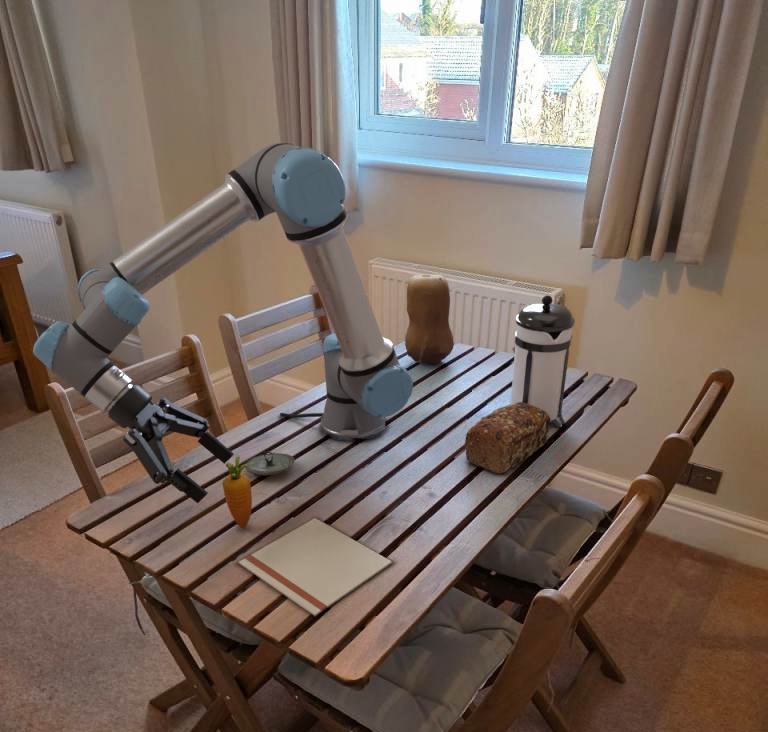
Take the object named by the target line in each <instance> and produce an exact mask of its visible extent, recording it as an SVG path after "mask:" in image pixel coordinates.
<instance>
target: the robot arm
mask: <svg viewBox="0 0 768 732" xmlns="http://www.w3.org/2000/svg"><path fill="white" fill-rule="evenodd" d="M345 200H346V183H345V179H344V176H343V174H342V172H341V170H340V168H339V167H338V165H337V164H336V163H335V161H333V160H332V159H331V158H330V157H329V156H327V155H326V154H324V153H323V152H321V151H319V150H317V149H315V148H312V147H306V146H298V145H295V144H293V143H289V142H276V143H273V144H269V145H267V146H265V147H263V148H261V149H260V150H259V151H257V152H256V153H254V154H253V155H251V156H250V157H249V158H247V159H246V160H244V161H243V162H242V163H241V164H239V165H238V166H237V167H235V168H234V169H232V170H231V171H229V172H228V173H226V174H225V176H224V183H223V184H221V185H219V186H218V187H217V188H216V189H214V190H213V191H211V192H210V193H208V194H207V195H205V196H204V197H203V198H201V199H200V200H198V201H197V202H196V203H194V204H193V205H191V206H190V207H189V208H187V209H186V210H184V211H183V212H181V213H180V214H179V215H177V216H175V217H174V218H172V219H171V220H170V221H168V222H167V223H165V224H164V225H163V226H161V227H160V228H158V229H156V230H155V231H154V232H152V233H151V234H149V235H148V236H147V237H145V238H144V239H142V240H141V241H139V242H138V243H136V244H135V245H134V246H132V247H131V248H129V249H128V250H126V251H125V252H124V253H122V254H121V255H119V256H118V257H117V258H115V259H114V260H112V261H111V262H109V263H108V264H106V265H104V266H103V267H102V268H94V269H90V270H87V271H86V272H85V273H84V274H83V275H82V276H81V277H80V279H79V281H78V285H77V289H78V292H77V293H78V297H79V298H78V299H79V301H80V303H81V305H82V307H83V308H84V310H83V311H82V312H81V313H80V314H79V316H77V318H76V319H75V320H74V321H73V322H72V323H71V324H67V323H65V321H63V320H62V321H61V320H59V321H56V322H54V323H52V324H51V325H50V326H49V327H48V328H47V329H46V330H44V331H43V332H42V333H41V335H40V336H39V337H38V338H37V339H36V341H35V342H34V345H33V349H32V351H33V355H34V356H35V357H36V358H37V359H38V360H39V361H40V362H41V363H42V364H43V365H44V366H46V367H47V368H48V369H49V370H50V372H51V373H53V374H54V375H55V376H57V377H59V378H60V379H61V380H62V381H63V382H65V383H66V384H68V385H69V386H70V387H71V388H73V389H74V390H75V391H76V392H78V393H79V394H80V395H81V396H83V397H84V399H86V400H87V401H88V402H89V403H90V404H92V405H93V406H94V407H95V408H97V409H98V410H99V411H100V412H101V413H107V416H108V418H109V419H110V420H111V421H113V422H114V423H115V424H117V425H118V426H119V427H120V428H121V429H126V428H129V431H127V433H126V434H125V435H124V436H123V438H122V441H123V442H124V443H125V444H126V445H127V446H129V448H130V449H131V450H132V451H133V453H134V454H135V456H136V457H137V459H138V460H139V462H140V463H141V466H143V468H144V470H145V471H146V473H147V474H148V476H149V477H150V479H151V480H152V481H153V483H154V484H155V485H158V484H164V483H166V482H168V483H169V484H170V485H171V486H173V487H174V488H175V489H176V490H178V491H179V492H182V493H184V494H185V495H186V496H187V497H189V498H190V499H191V500H193V501H194V502H195V503H197V504H199V503H200V502H202V500H203V499H204V498H205V497H207V496H208V494H209V492H208V491H207V490H206V489H204V488H203V487H202V486H201V485H200V484H199V483H197V482H196V481H195V480H194V479H192V478H191V477H190V476H189V475H188V474H186V473H185V472H183V470H181V469H180V468H177V469H175V468H174V466H173V463H172V461H171V458H170V457H169V455H168V452H167V450H166V447H165V445H164V442H163V435H164V434H165V433H168V432H172V433H177V434H180V435H185V436H189V437H192V438H198V440H197V443H198V444H200V445H201V446H202V447H203V448H204V449H206V450H207V451H208V452H210V454H212V455H213V456H214V457H215V458H217V460H219V461H220V462H221V463H222V464H224V465H226V463H228V462H229V460H230V459H231V458H233V456H234V455H235V452H233V451H231V449H229V448H228V447H226V445H224V444H223V443H222V442H221V441H220V440H219V439H218V438H217V437H216V436H215V435H214V434H212V433H211V432H210V431H209V429H210V428H211V425H210V424H209V421H208V419H206V418H205V417H202V416H200V415H198V414H196V413H193V412H191V411H190V410H187V409H185V408H183V407H181V406H178V405H176V404H174V403H173V402H171V401H170V400H168V399H167V398H166V397H164V396H162V397H161V398H160V399H159V400H158V401H157V402H156V403H153V402H152V400H153V396H152V395H151V394H150V393H149V392H148V391H146V390H145V388H143V387H142V386H141V385H139V384H136V383H135V384H133V383H134V381H133V379H132V378H131V377H129V375H127V374H126V373H125V372H124V371H122V370H121V369H120V368H119V367H117V366H116V365H115V363H113V362H112V361H111V360H110V359H109V358H108V357H110V355H111V354H112V353H113V352H114V351H115V349H116V348H117V347H118V346H119V345H120V344H121V343H122V342H123V341H124V340H125V339H126V338H127V336H128V335H129V334H131V332H132V331H134V329H135V328H136V327H137V326H138V325H140V324H141V322H142V320H143V318H144V317H145V316H146V314H147V313H148V312H149V310H150V309H151V305H150V302H149V301H148V299H147V298H146V297H145V296H144V295H145V294H146V293H147V292H149V291H150V290H151V289H153V288H154V287H156V286H158V285H159V284H160V283H161V282H164V280H166V279H168V278H169V277H170V276H172V275H173V274H175V273H176V272H177V271H179V270H180V269H182V268H183V267H185V266H186V265H188V264H189V263H191V262H192V261H194V259H196V258H197V257H199V256H200V255H202V254H203V253H204V252H206V251H207V250H209V249H210V248H212V247H213V246H214V245H216V244H217V243H219V242H221V241H222V240H223V239H225V238H226V237H228V236H229V235H230V234H232V233H233V232H234V231H236V230H237V229H239V228H241V227H243V225H245V224H246V223H248V222H255V223H258V222H260V220H262V219H263V218H265V217H267V216H269V215H270V214H274V213H276V215H277V218H278V220H279V222H280V225H281V227H282V230H283V232H284V234H285V236H286V237H285V238H286V239H287V241H289V242H290V243H293V244H295V245H297V246H299V249H300V251H301V254H302V256H303V258H304V261H305V263H306V266H307V268H308V271H309V274H310V276H311V279H312V281H313V284H314V286H315V288H316V290H317V294H318V296H319V298H320V300H321V303H322V305H323V308H324V310H325V313H326V316H327V318H328V321H329V322H330V325H331V328H332V330H333V333H329V335H326V336H325V338H324V340H323V350H322V353H323V361H324V362H323V363H324V364H323V365H324V375H325V387H326V388H325V390H326V401H325V404H324V409H323V412H313V413H311V412H310V413H296V414H295V413H294V414H293V413H286V412H280V413H279V417H284V418H289V419H301V418H317V417H318V418H321V419H320V425H321V431H322V433H323V434H324V435H325V436H327V437H328V438H331V439H333V440H338V441H344V442H358V441H360V442H361V441H365V440H368V439H372V438H374V437H377V436H379V435H380V434H381V433H382V432H383V431H384V430H385V429H386V418H387V417H391V416H393V415H395V414H397V413H398V412H400V411H401V410H403V408H404V407H405V406H406V405H407V404H408V402H409V399H410V398H411V396H412V394H413V391H414V390H413V389H414V381H413V378H412V376H411V374H410V373H409V372H408V369H406V367H404V366H401V363H400V361H399V359H398V356H397V353H396V350H395V347H394V345H393V342H392V341H391V340H390V339H389V338H387V337H386V338H385V337H383V336H382V333H381V330H380V328H379V325H378V322H377V319H376V315H375V314H374V311H373V308H372V305H371V303H370V299H369V297H368V294H367V292H366V288H365V286H364V283H363V279H362V277H361V274H360V272H359V269H358V266H357V263H356V261H355V258H354V255H353V253H352V250H351V247H350V244H349V242H348V239H347V238H348V237H347V236H346V233H345V230H344V226H345V224H346V222H347V220H348V214H347V211H346V210H347V209H346V207H345V205H344V202H345Z"/></svg>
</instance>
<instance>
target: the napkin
mask: <svg viewBox="0 0 768 732" xmlns="http://www.w3.org/2000/svg"><path fill="white" fill-rule="evenodd" d="M238 564H239V565H240V566H242V567H243V568H244V569H246V570H248V571H249V572H250V573H252V574H253V575H254V576H256V577H257V578H259V579H260V580H261V581H263V582H265V583H266V584H267V585H269V586H271V587H272V588H273V589H275V590H276V591H278V592H279V593H280V594H281V595H283V596H285V597H286V598H288V599H289V600H290V601H292V602H293V603H294V604H297V605H298V606H299V607H301V608H302V609H304V610H305V611H307V612H308V613H309V614H311V615H312V616H313V617H317V616H318V615H320V613H322V612H324V611H325V610H327V609H328V608H329V607H331V606H332V605H334V604H335V603H336V602H338V601H340V600H341V599H342V598H344V597H346V596H347V595H348V594H350V593H351V592H352V591H354V590H355V589H356V588H357V589H358V587H361V586H362V585H363V584H364V583H365V582H367V581H368V580H370V579H371V578H373V577H374V576H375V575H377V574H379V573H380V572H382V570H384V569H386V568H387V567H389V566H390V565H391V564H393V562H392V560H390V559H388V558H387V557H384V556H383V555H381V554H379V553H378V552H376V551H374V550H372V549H371V548H369V547H367V546H365V545H364V544H362V543H360V542H358V541H357V540H355V539H353V538H351V537H350V536H348V535H347V534H344V533H342V532H341V531H338V530H337V529H336V528H334V527H332V526H330V525H329V524H326V523H325V522H324V521H321V520H319V518H316V517H314V518H313V519H311V520H309V521H307V522H305V523H303V524H302V525H300V526H299V527H297V528H295V529H293V530H291V531H290V532H288V533H286V534H285V535H283V536H281V537H279V538H278V539H276V540H274V541H272V542H270V543H269V544H267V545H265V546H263V547H262V548H260V549H259V550H257V551H255V552H253V553H251V554H250V555H248V556H247V557H244V558H243V559H241V560H239V561H238Z"/></svg>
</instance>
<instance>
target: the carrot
mask: <svg viewBox="0 0 768 732" xmlns="http://www.w3.org/2000/svg"><path fill="white" fill-rule="evenodd" d="M240 459H241V457H240V456H236V457H235V461H234V462H235V463H234V464H233V463H232V462H230V461H227V462H226V463H225V466H226V468H227V469H228V470H227V471H228V473H229V474H228V475H227V476H226V477H225V478H224V479H223V480H222V488H223V493H224V499H225V503H226V505H227V508H228V511H229V512H230V515H231V517H232V518H233V520H234V522H235V523H236V525H237V526H238V527H239V528H240V529H242V530H244V529H245V528H246V527H247V525H248V524H249V521H250V518H251V515H252V507H253V506H252V505H253V498H252V496H253V495H252V487H251V486H252V485H251V481H250V479H249V477H248V476H247V475H246V474H244V473H242V471H244V469H246V468H245V467H247V464H246V463H243V464H241V465H240Z"/></svg>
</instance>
